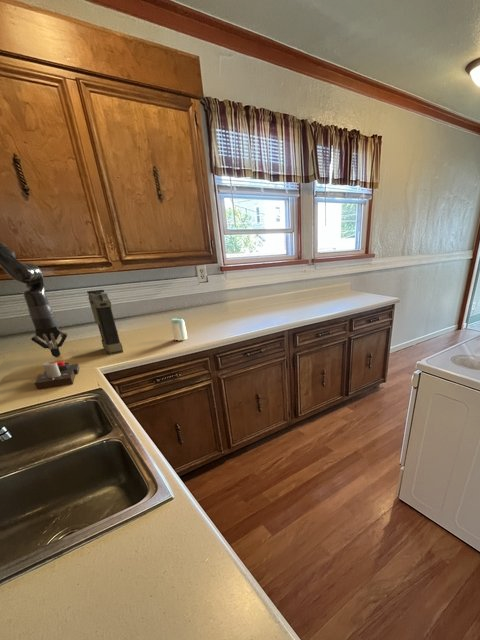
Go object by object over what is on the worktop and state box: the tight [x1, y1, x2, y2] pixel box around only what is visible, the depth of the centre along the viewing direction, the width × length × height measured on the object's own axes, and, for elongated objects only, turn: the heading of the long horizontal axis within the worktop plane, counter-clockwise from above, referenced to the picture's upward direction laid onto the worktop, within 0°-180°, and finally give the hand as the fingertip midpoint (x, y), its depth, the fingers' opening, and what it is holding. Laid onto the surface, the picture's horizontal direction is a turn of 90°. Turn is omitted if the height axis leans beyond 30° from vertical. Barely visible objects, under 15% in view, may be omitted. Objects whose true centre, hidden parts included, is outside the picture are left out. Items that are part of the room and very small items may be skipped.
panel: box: [34, 370, 76, 391], centre depth 133 cm, size 12×10×3 cm
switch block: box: [43, 361, 80, 375], centre depth 142 cm, size 12×8×4 cm, turn 118°
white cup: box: [42, 360, 61, 378], centre depth 131 cm, size 4×4×6 cm
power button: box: [55, 360, 65, 367], centre depth 141 cm, size 4×4×2 cm
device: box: [86, 289, 124, 355], centre depth 165 cm, size 14×8×30 cm, turn 42°
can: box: [171, 317, 188, 342], centre depth 186 cm, size 7×7×12 cm
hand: (57, 356), depth 139 cm, fingers closed
